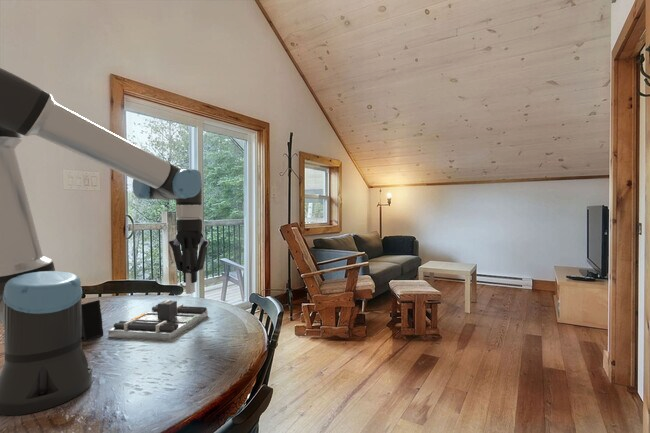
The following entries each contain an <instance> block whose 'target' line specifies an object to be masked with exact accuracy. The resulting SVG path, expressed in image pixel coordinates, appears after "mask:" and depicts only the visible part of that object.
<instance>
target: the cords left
mask: <svg viewBox="0 0 650 433" xmlns="http://www.w3.org/2000/svg"><path fill="white" fill-rule="evenodd" d="M132 319H133V318H132ZM130 320H131V319H130ZM130 320H128V321H127V320H119V321H118V322H114V324H113V328H124V330H127V329H143V330H156V332H159V331H160V330H161V331H174V330H175V329H177V328H178V324H170V323H167V321H163V322H161V323H151V322H136V319H133V320H131V321H130Z"/></svg>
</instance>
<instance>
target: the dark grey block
mask: <svg viewBox="0 0 650 433" xmlns="http://www.w3.org/2000/svg"><path fill="white" fill-rule="evenodd" d="M157 305H158V320H171V319H173V318H175V317H176V316H177V306H178V301H177V300H172V299H168V300H163V301H161V302H158V303H157Z"/></svg>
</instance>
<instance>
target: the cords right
mask: <svg viewBox="0 0 650 433" xmlns="http://www.w3.org/2000/svg"><path fill="white" fill-rule="evenodd" d="M206 310H208V308H207V307H205V306H187V305H184V304H183V303H180V304H177V312H190V313H203V312H204V311H206ZM151 311H158V304H156V305H155V306H152V307H151Z"/></svg>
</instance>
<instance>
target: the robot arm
mask: <svg viewBox="0 0 650 433" xmlns="http://www.w3.org/2000/svg"><path fill="white" fill-rule="evenodd" d="M21 135H22V136H24V137H30V136H37V137H40V138H41V139H44V140H46V141H48V142H50V143H53V144H55V145H57V146H60V147H61V148H64V149H66V150H68V151H71V152H72V153H75V154H76V155H78V156H81V157H84V158H86V159H89V160H91V161H93V162H94V163H98V164H100V165H101V166H104V167H106V168H108V169H110V170H113V171H115V172H117V173H119V174H122V175H124V176H126V177H129V178H131V179H133V180H132V192H133V194H134V196H135V197H136V198H137V199H141V200H148V201H149V200H172V201H173V200H174V201H175V205H176V206H175V211H176V212H175V215H176V216H175V217H176V219H177V220H175V223H176V226H175V227H176V232H177V233H176V235H175V238H173V239H172V240H169V241H168V244H169V246H170V247H171V250H172V254H173V258H174V262H175V266H176V270H177V271H179V272H182V273H183V275H182V276H183V278H182V279H183V280H182V281H183V283H185V294H187V295H191V294H194V293H195V292H196V283H197V281H198V272H200V271H201V270H203V268H204V264H205V259H206V256H207V255H206V254H207V251H208V247H209V246H210V244H211V241H210V240H207V239H206V238H204V234H203V220H202V219H201V218H202V217H203V208H202V207H203V206H202V198H203V196H202V194H203V193H202V191H203V190H202V186H203V184H202V183H203V182H202V174H201V172H200V170H197V169H192V168H179V167H177V166H176V165H174V164H171V163H169V162H168V161H166V160H164V159H162V158H160V157H158V156H156V155H155V154H153V153H151V152H149V151H147V150H145V149H143V148H141V147H140V146H138V145H135V144H134V143H132V142H130V141H129V140H127V139H125V138H123V137H121V136H119V135H117V134H115V133H113V132H112V131H109V130H108V129H106V128H105V127H102V126H100V125H99V124H96V123H94V122H93V121H91V120H89V119H87V118H85V117H84V116H81V115H80V114H78V113H76V112H74V111H72V110H70V109H68V108H67V107H64V106H62V105H61V104H59V103H58V102H56V101H55V100H54V97H53V95H52V94H51V93H50V92H47V91H46V90H44V89H42V88H41V87H38V86H37V85H35V84H34V83H31V82H29V81H27V80H25V79H24V78H22V77H20V76H18V75H16V74H14V73H13V72H10V71H8V70H6V69H3V68H2V67H0V323H1V325H3V332H4V333H3V334H4V335H3V336H4V337H3V338H4V340H3V342H4V345H3V346H4V363H3V367H2V370H1V371H0V415H1V416H19V415H21V416H22V415H27V414H33V413H36V412H40V411H44V410H47V409H50V408H54V407H57V406H59V405H62V404H64V403H67V402H68V401H71V400H72V399H75V398H76V397H78V396H80V395H81V394H83V393H85V391H87V390H88V389H89V387H90V386H91V385H92V383H93V371H92V367H91V366H90V365H89V362H88V359H87V356H86V355H85V352H84V350H83V347H82V337H81V304H82V296H83V288H82V285H81V284H82V283H81V282H82V281H81V278H80V277H79V276H78V275H77V274H75V273H72V272H68V271H58V270H56V267H55V264H54V260H53V259H52V258H50V257H48V256H45V255H44V254H43V253H42V248H41V245H40V242H39V241H40V240H39V237H38V233H37V230H36V226H35V225H36V224H35V222H34V218H33V213H32V210H31V206H30V203H29V202H30V201H29V198H28V194H27V191H26V190H27V189H26V187H25V183H24V179H23V176H22V172H21V168H20V164H19V160H18V156H17V153H16V147H18V145H19V144H21V143H22V141H23V138H22V136H21ZM199 245H200V247H199ZM198 250H199V251H198Z"/></svg>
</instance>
